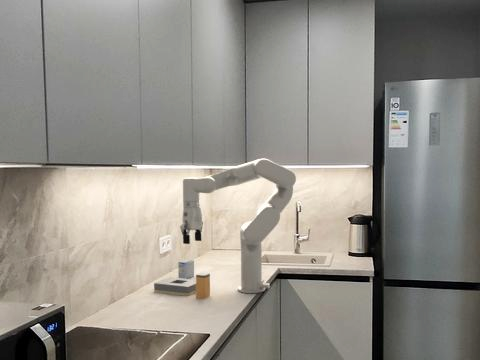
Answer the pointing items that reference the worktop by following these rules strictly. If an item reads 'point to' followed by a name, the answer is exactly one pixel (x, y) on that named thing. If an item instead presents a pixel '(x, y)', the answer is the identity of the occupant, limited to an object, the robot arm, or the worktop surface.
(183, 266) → the medicine box
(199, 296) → the plug
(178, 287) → the socket block
